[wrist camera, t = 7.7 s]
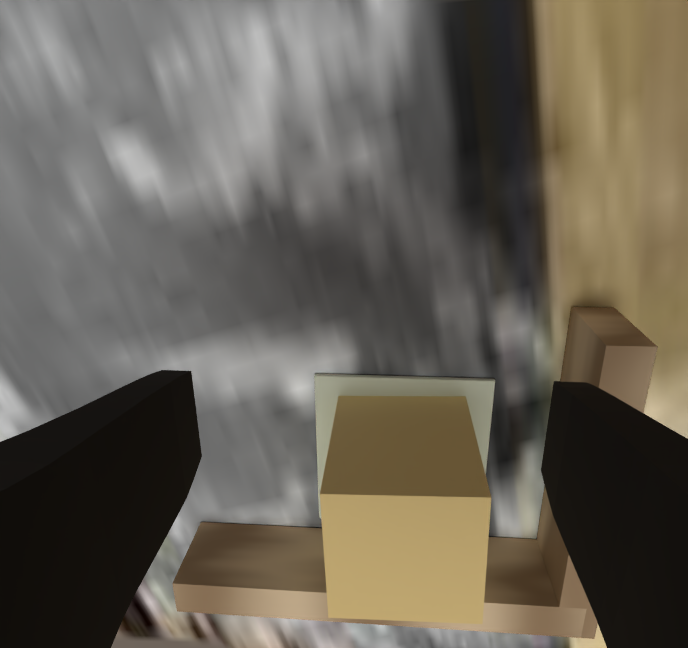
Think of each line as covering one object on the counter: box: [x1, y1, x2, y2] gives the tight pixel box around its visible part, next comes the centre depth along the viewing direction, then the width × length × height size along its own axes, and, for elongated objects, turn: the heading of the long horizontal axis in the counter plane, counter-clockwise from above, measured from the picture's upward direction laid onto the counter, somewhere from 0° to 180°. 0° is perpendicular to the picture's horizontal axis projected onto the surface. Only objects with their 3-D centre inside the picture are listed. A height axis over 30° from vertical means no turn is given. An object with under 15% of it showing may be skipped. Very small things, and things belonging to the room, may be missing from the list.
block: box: [320, 396, 491, 624], centre depth 20 cm, size 5×5×6 cm
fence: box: [173, 307, 657, 639], centre depth 21 cm, size 16×12×4 cm
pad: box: [314, 374, 495, 518], centre depth 23 cm, size 7×7×1 cm
